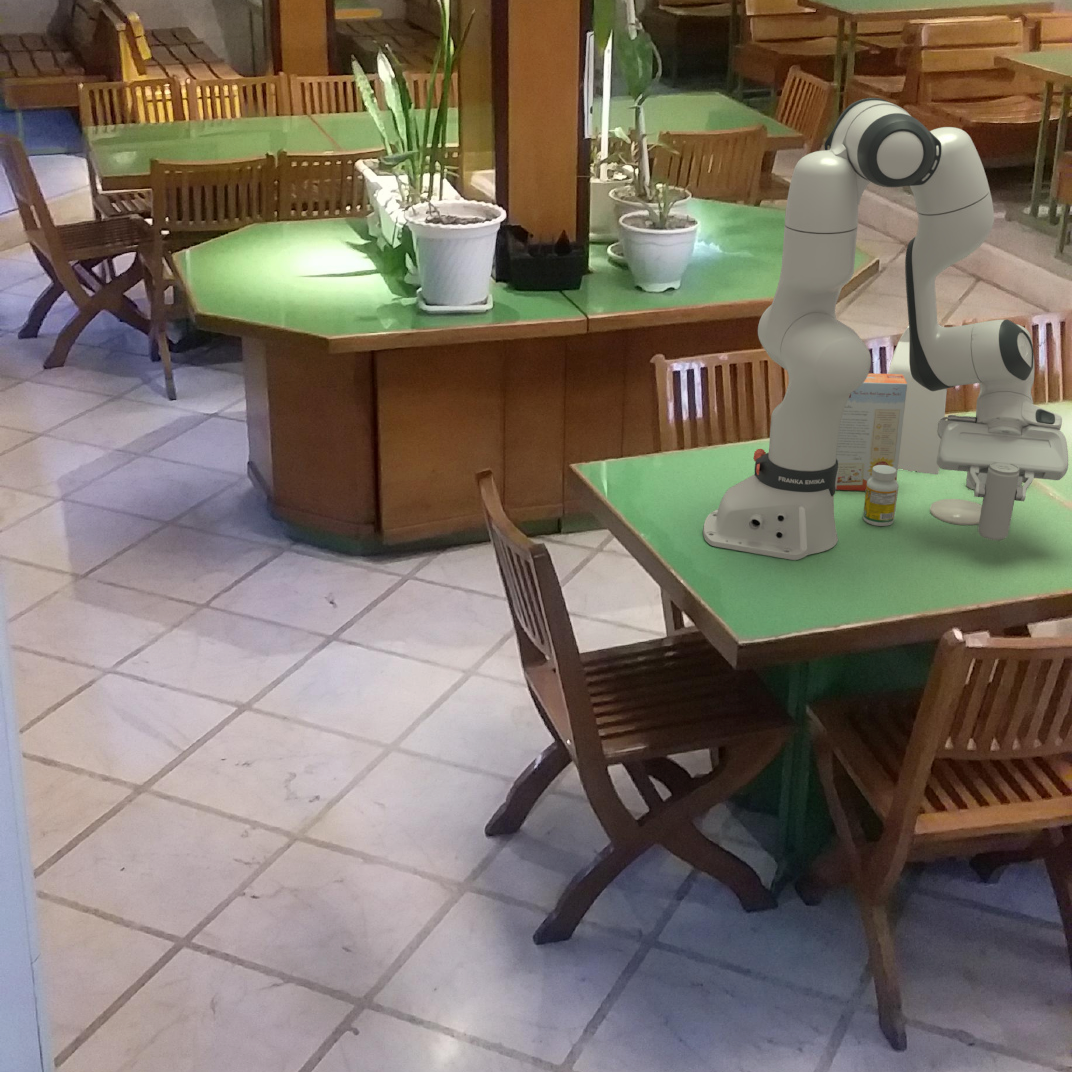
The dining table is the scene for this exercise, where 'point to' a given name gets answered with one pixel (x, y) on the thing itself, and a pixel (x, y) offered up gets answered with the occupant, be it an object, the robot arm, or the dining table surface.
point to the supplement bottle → (881, 496)
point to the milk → (918, 416)
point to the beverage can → (998, 501)
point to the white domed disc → (956, 511)
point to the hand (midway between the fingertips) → (999, 497)
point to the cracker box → (870, 429)
